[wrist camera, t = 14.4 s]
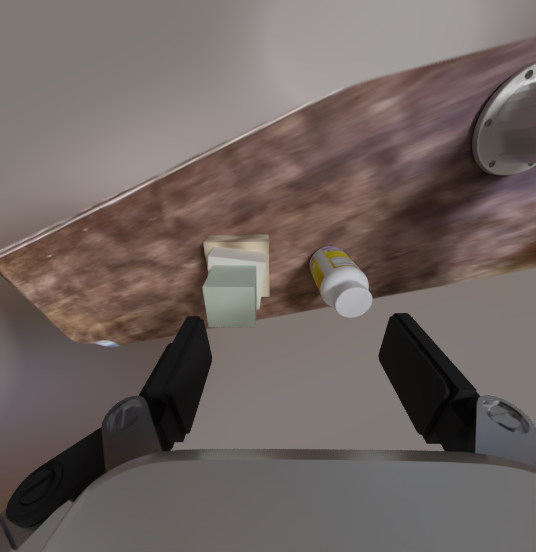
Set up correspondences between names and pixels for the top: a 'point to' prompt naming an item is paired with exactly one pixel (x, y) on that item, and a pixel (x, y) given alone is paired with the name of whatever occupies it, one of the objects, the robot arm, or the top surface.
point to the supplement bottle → (340, 282)
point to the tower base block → (243, 243)
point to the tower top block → (240, 262)
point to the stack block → (231, 296)
